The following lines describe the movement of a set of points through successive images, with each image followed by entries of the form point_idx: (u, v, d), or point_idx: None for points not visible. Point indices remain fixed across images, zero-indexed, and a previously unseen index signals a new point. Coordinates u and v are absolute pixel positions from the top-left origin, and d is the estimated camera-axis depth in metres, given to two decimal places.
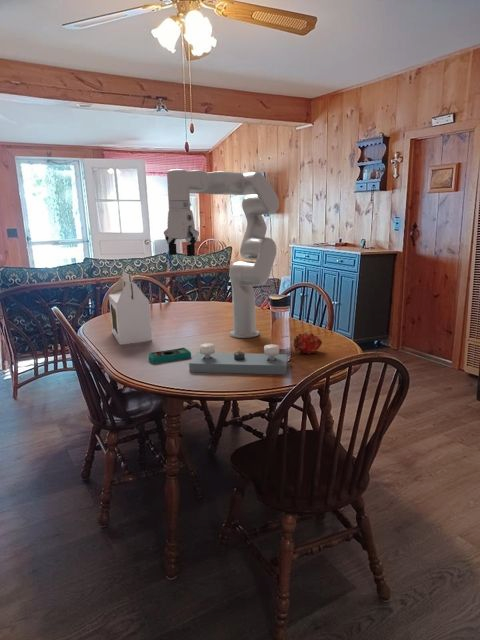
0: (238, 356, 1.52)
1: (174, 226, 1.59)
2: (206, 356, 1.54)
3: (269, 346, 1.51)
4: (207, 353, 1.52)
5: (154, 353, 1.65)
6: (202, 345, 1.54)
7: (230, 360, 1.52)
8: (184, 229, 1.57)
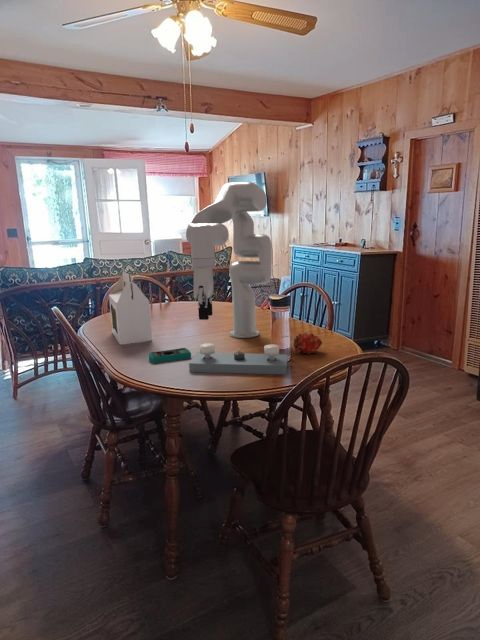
0: (238, 356, 1.52)
1: (211, 284, 1.49)
2: (206, 356, 1.54)
3: (269, 346, 1.51)
4: (207, 353, 1.52)
5: (154, 353, 1.65)
6: (202, 345, 1.54)
7: (230, 360, 1.52)
8: None
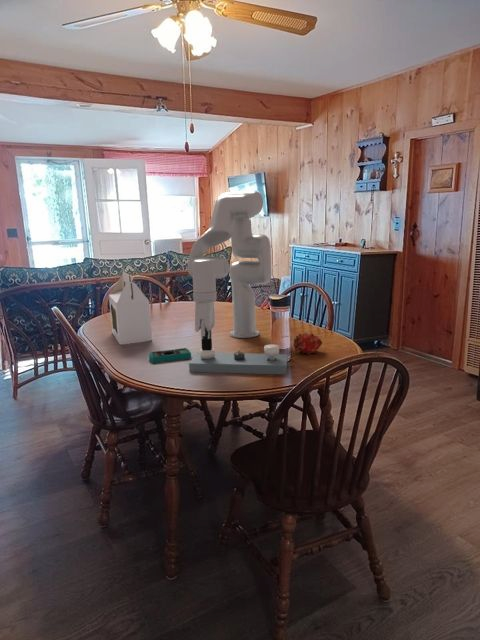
0: (238, 356, 1.52)
1: (212, 317, 1.51)
2: None
3: (269, 346, 1.51)
4: (207, 357, 1.52)
5: (155, 352, 1.66)
6: None
7: (230, 360, 1.52)
8: (214, 317, 1.56)
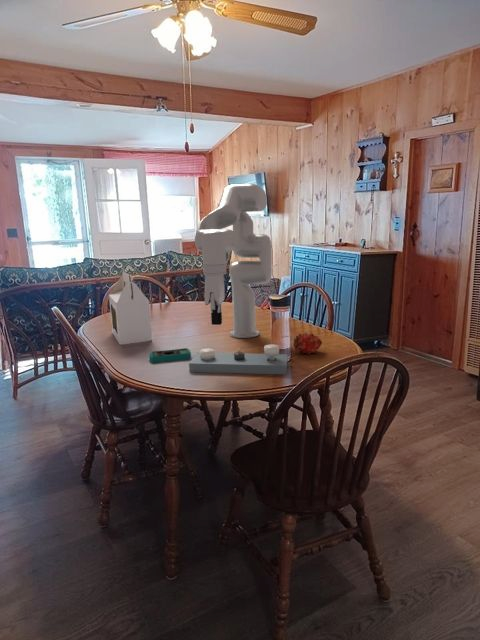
0: (238, 356, 1.52)
1: (222, 290, 1.48)
2: None
3: (269, 346, 1.51)
4: (207, 358, 1.53)
5: (155, 352, 1.66)
6: (202, 350, 1.55)
7: (230, 360, 1.52)
8: (224, 291, 1.53)
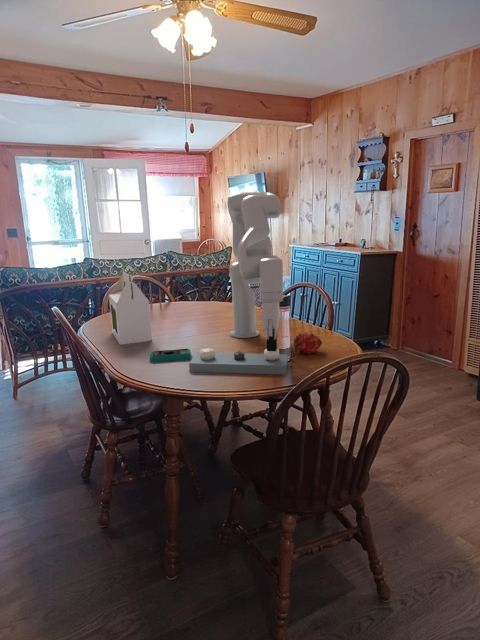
0: (238, 356, 1.52)
1: None
2: None
3: None
4: (207, 358, 1.53)
5: (156, 352, 1.66)
6: (202, 350, 1.55)
7: (230, 360, 1.52)
8: None
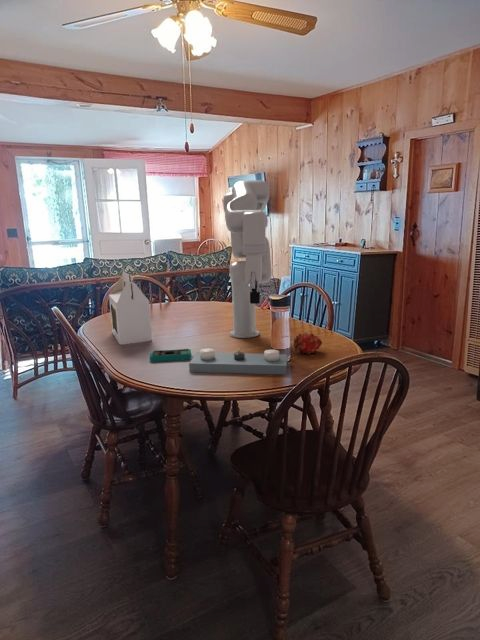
0: (238, 356, 1.52)
1: (261, 270, 1.52)
2: None
3: (269, 351, 1.51)
4: (207, 358, 1.53)
5: (157, 352, 1.67)
6: (202, 350, 1.55)
7: (230, 360, 1.52)
8: None
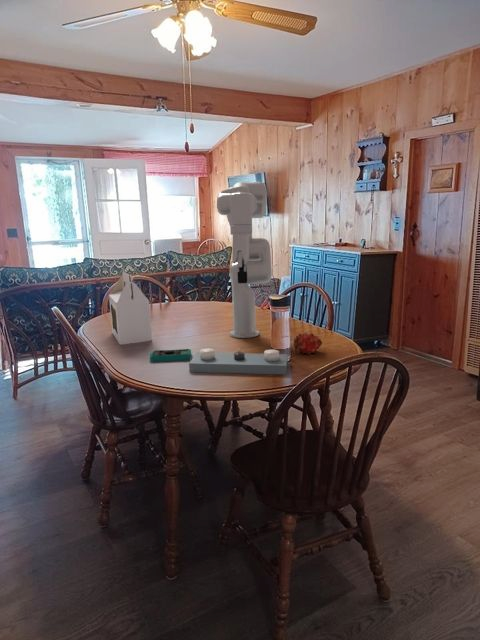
0: (238, 356, 1.52)
1: (248, 250, 1.56)
2: None
3: (269, 351, 1.51)
4: (207, 358, 1.53)
5: (157, 351, 1.67)
6: (202, 350, 1.55)
7: (230, 360, 1.52)
8: None
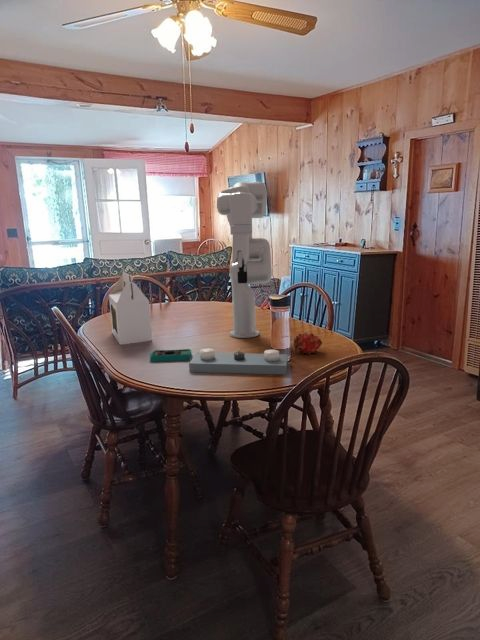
0: (238, 356, 1.52)
1: (248, 250, 1.56)
2: None
3: (269, 351, 1.51)
4: (207, 358, 1.53)
5: (157, 351, 1.67)
6: (202, 350, 1.55)
7: (230, 360, 1.52)
8: None
